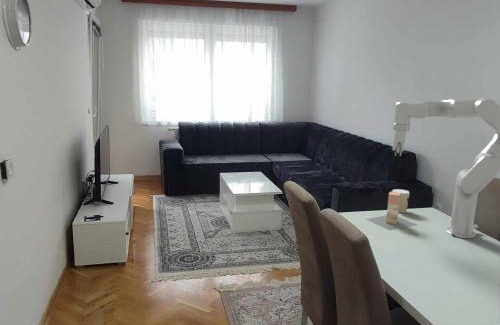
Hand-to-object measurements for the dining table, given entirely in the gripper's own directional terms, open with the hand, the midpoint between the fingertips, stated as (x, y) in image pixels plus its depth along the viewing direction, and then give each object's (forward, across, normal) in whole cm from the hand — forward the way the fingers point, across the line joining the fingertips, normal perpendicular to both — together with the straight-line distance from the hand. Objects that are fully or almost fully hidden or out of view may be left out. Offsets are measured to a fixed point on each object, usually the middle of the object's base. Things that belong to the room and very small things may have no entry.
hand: (397, 162), depth 196 cm
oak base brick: (+31, 0, 0) cm, 31 cm away
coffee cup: (+32, -22, +2) cm, 40 cm away
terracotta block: (+21, 0, 0) cm, 21 cm away
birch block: (+26, 0, 0) cm, 26 cm away
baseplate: (+32, 0, 0) cm, 32 cm away
